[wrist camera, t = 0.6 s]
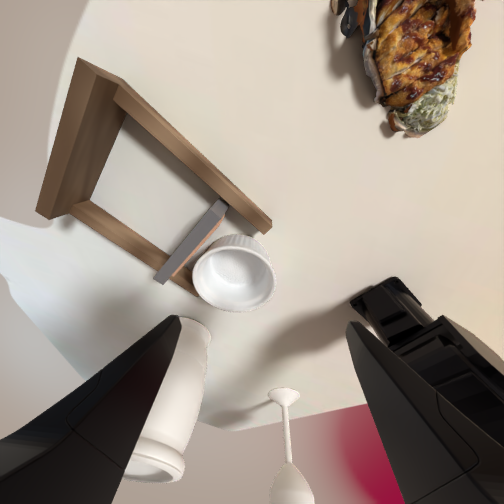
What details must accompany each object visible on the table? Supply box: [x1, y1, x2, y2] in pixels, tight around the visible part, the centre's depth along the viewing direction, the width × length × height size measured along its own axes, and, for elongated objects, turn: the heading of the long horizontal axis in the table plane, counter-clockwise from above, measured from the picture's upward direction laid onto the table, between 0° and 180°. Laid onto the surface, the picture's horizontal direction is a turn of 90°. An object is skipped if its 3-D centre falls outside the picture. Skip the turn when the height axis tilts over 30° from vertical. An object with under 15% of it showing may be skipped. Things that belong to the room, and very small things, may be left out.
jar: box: [122, 317, 211, 483], centre depth 24 cm, size 11×10×15 cm
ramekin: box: [192, 234, 276, 312], centre depth 21 cm, size 9×9×4 cm
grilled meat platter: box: [331, 0, 483, 138], centre depth 11 cm, size 7×12×4 cm, turn 42°
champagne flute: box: [268, 388, 315, 504], centre depth 28 cm, size 7×7×24 cm
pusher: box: [153, 197, 230, 285], centre depth 19 cm, size 2×10×4 cm, turn 137°
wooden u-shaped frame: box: [35, 57, 272, 297], centre depth 18 cm, size 17×13×4 cm
